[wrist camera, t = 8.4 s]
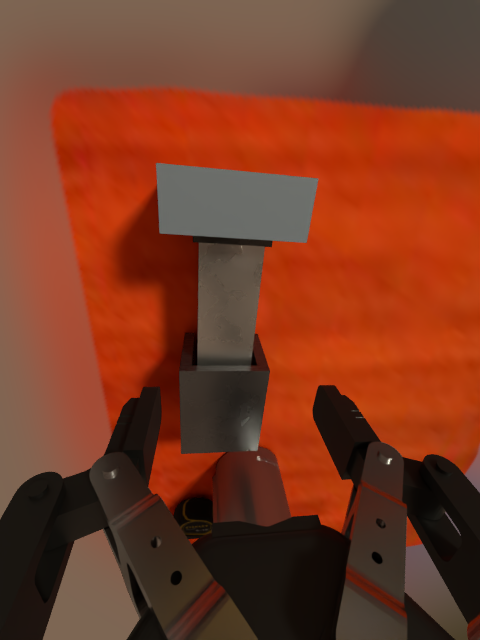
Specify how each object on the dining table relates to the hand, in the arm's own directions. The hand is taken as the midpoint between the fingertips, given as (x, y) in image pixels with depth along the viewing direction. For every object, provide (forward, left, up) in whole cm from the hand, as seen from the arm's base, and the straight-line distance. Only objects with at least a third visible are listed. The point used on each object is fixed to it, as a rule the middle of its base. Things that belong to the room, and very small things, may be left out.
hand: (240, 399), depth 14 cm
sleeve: (-8, -6, -16) cm, 19 cm away
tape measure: (-32, -19, -16) cm, 41 cm away
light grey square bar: (0, 0, -16) cm, 16 cm away
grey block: (+7, +5, -16) cm, 18 cm away
